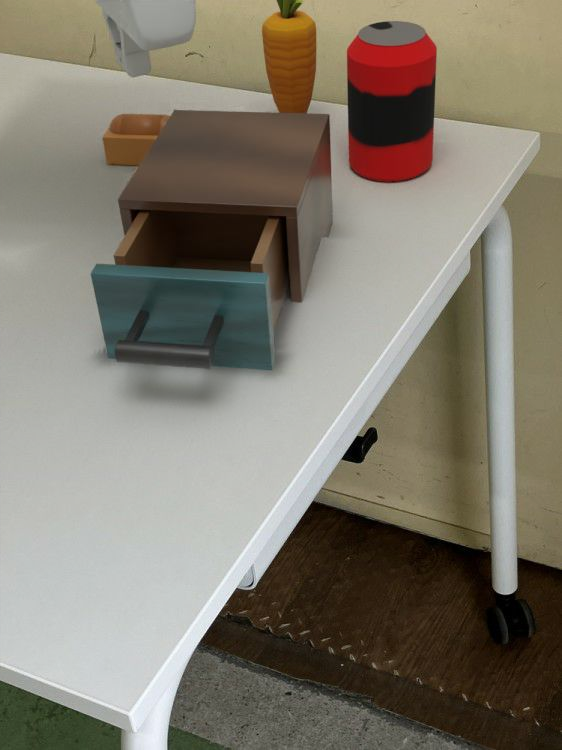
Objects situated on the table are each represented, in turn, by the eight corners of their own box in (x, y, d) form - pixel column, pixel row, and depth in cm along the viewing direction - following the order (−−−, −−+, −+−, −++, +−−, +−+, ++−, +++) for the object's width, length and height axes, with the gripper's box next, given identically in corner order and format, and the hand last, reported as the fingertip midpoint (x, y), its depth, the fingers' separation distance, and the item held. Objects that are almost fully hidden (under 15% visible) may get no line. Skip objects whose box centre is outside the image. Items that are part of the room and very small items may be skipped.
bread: (106, 164, 95) (99, 125, 92) (121, 143, 98) (114, 104, 96) (178, 167, 94) (172, 127, 91) (190, 145, 97) (185, 106, 94)
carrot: (270, 121, 100) (259, -35, 91) (319, 119, 100) (314, -37, 91) (267, 143, 96) (256, -17, 87) (319, 141, 96) (313, -19, 87)
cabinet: (303, 323, 73) (296, 206, 67) (137, 312, 76) (117, 198, 70) (332, 221, 84) (329, 113, 78) (187, 214, 87) (173, 109, 81)
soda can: (407, 138, 96) (410, 11, 88) (447, 171, 90) (454, 38, 82) (335, 156, 94) (331, 27, 86) (371, 190, 88) (371, 56, 80)
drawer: (258, 428, 63) (249, 328, 58) (87, 414, 65) (63, 316, 60) (307, 270, 77) (302, 178, 72) (164, 262, 79) (150, 173, 74)
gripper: (17, -160, 71) (56, 34, 80) (98, -98, 56) (134, 131, 65) (103, -173, 73) (132, 18, 82) (203, -116, 58) (225, 109, 67)
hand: (134, 69), depth 73 cm, fingers closed
